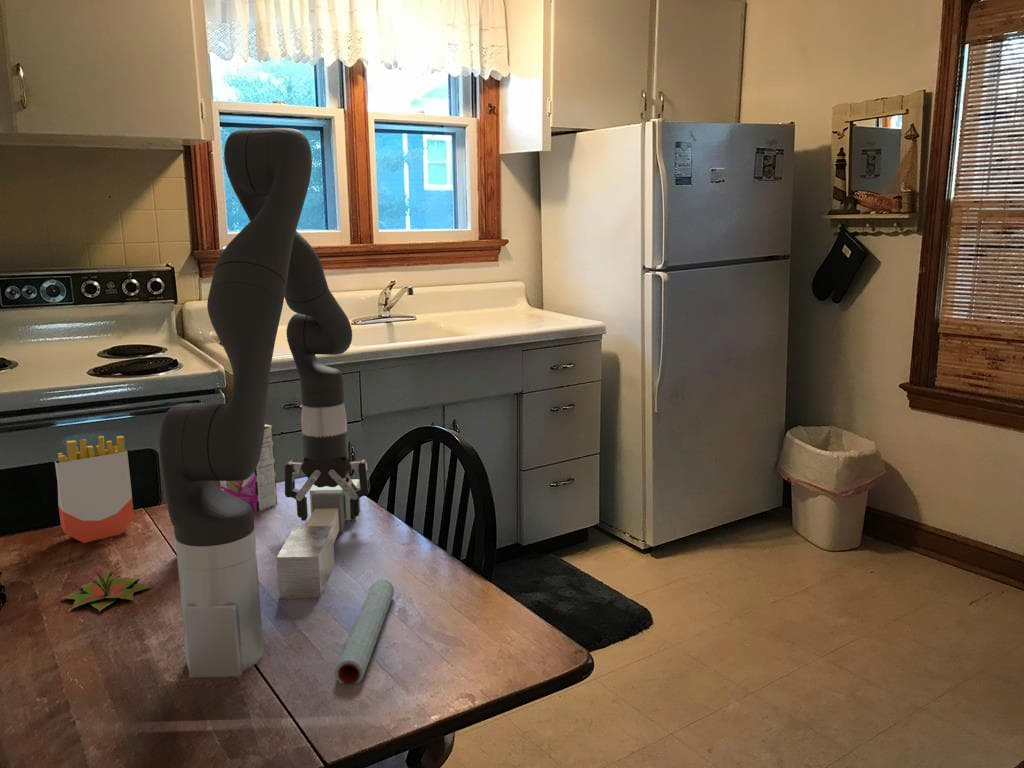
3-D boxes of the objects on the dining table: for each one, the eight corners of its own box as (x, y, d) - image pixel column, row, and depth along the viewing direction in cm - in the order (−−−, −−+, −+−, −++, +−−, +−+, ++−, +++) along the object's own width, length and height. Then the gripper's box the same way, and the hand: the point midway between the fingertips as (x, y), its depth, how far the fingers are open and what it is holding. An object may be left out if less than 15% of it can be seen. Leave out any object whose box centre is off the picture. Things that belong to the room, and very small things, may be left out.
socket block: (360, 511, 156) (359, 479, 155) (356, 523, 150) (354, 489, 149) (317, 512, 156) (316, 480, 154) (311, 524, 150) (309, 490, 148)
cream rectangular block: (334, 563, 133) (332, 525, 132) (320, 597, 121) (318, 556, 120) (296, 564, 133) (294, 526, 131) (279, 598, 121) (276, 557, 120)
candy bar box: (218, 504, 160) (212, 422, 157) (239, 497, 164) (233, 416, 161) (258, 515, 154) (252, 430, 151) (279, 507, 159) (273, 424, 155)
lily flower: (43, 604, 121) (39, 575, 120) (116, 573, 131) (113, 545, 130) (97, 623, 115) (93, 592, 114) (169, 588, 125) (166, 560, 125)
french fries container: (62, 539, 144) (49, 438, 140) (129, 525, 150) (119, 428, 146) (67, 547, 140) (54, 444, 136) (135, 532, 147) (125, 433, 143)
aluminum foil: (363, 687, 99) (362, 661, 98) (308, 687, 99) (306, 661, 98) (394, 600, 121) (394, 578, 120) (349, 600, 121) (348, 578, 121)
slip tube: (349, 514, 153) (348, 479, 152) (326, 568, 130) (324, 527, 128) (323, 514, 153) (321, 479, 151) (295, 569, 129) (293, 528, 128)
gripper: (277, 435, 138) (283, 527, 141) (363, 434, 139) (367, 525, 142) (287, 424, 145) (292, 512, 149) (369, 422, 146) (372, 510, 149)
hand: (329, 518), depth 145 cm, fingers open, 8 cm apart
